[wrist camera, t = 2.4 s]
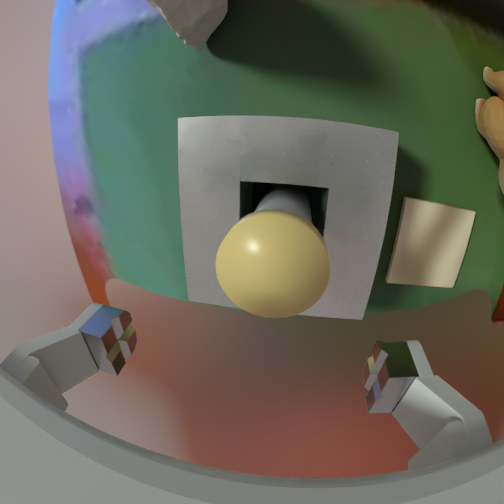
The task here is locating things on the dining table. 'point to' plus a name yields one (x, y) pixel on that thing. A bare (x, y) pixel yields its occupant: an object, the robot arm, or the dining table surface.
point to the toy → (493, 117)
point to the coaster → (429, 243)
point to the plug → (275, 256)
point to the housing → (287, 172)
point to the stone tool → (192, 18)
